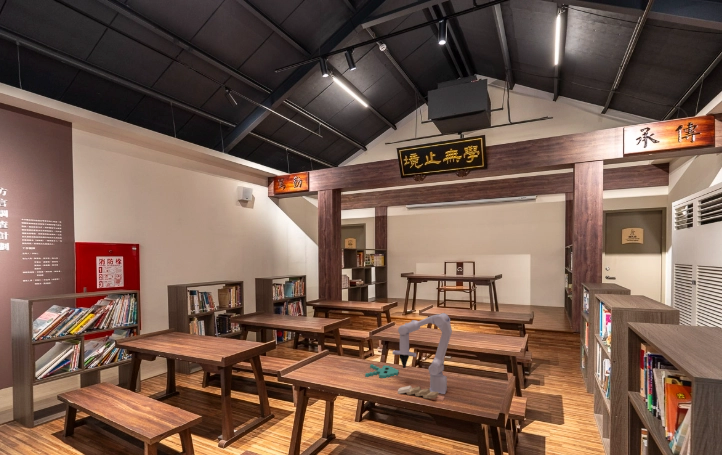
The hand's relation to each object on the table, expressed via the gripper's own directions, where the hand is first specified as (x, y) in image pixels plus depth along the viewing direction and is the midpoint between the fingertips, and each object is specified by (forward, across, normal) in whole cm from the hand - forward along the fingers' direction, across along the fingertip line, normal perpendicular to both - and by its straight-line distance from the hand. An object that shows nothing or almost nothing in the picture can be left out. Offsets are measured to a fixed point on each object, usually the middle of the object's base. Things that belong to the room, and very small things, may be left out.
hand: (404, 367), depth 218 cm
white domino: (+9, -1, +15) cm, 17 cm away
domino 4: (+9, -19, +15) cm, 26 cm away
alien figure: (+10, +18, -13) cm, 24 cm away
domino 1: (+9, -6, +14) cm, 18 cm away
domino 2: (+9, -11, +14) cm, 20 cm away
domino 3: (+8, -16, +15) cm, 24 cm away
